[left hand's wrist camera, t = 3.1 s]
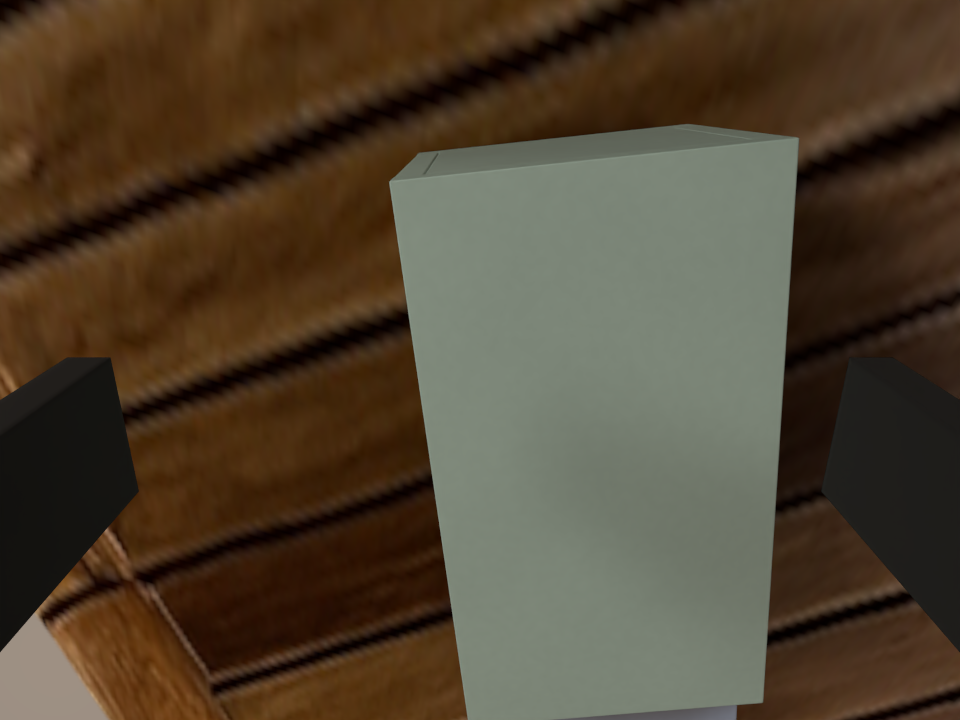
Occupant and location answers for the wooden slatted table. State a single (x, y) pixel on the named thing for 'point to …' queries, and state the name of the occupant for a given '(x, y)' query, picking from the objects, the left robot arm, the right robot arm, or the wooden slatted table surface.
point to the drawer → (674, 714)
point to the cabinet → (603, 409)
